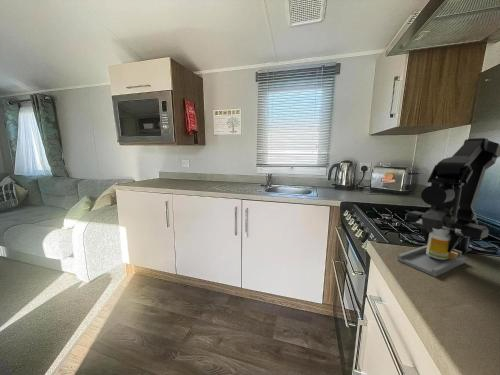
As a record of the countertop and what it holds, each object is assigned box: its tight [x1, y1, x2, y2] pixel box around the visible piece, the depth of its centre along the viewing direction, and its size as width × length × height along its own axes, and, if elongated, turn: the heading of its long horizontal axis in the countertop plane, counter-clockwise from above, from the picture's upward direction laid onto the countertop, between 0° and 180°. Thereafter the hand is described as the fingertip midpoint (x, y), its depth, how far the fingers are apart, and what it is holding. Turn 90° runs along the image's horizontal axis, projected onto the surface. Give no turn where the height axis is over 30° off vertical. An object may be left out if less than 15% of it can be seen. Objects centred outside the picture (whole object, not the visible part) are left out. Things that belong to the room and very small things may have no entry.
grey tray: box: [396, 244, 466, 278], centre depth 65 cm, size 18×10×3 cm, turn 116°
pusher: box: [448, 251, 458, 260], centre depth 68 cm, size 1×7×3 cm, turn 26°
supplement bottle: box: [426, 227, 451, 260], centre depth 66 cm, size 5×5×10 cm
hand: (437, 248), depth 67 cm, fingers closed on supplement bottle, 5 cm apart
